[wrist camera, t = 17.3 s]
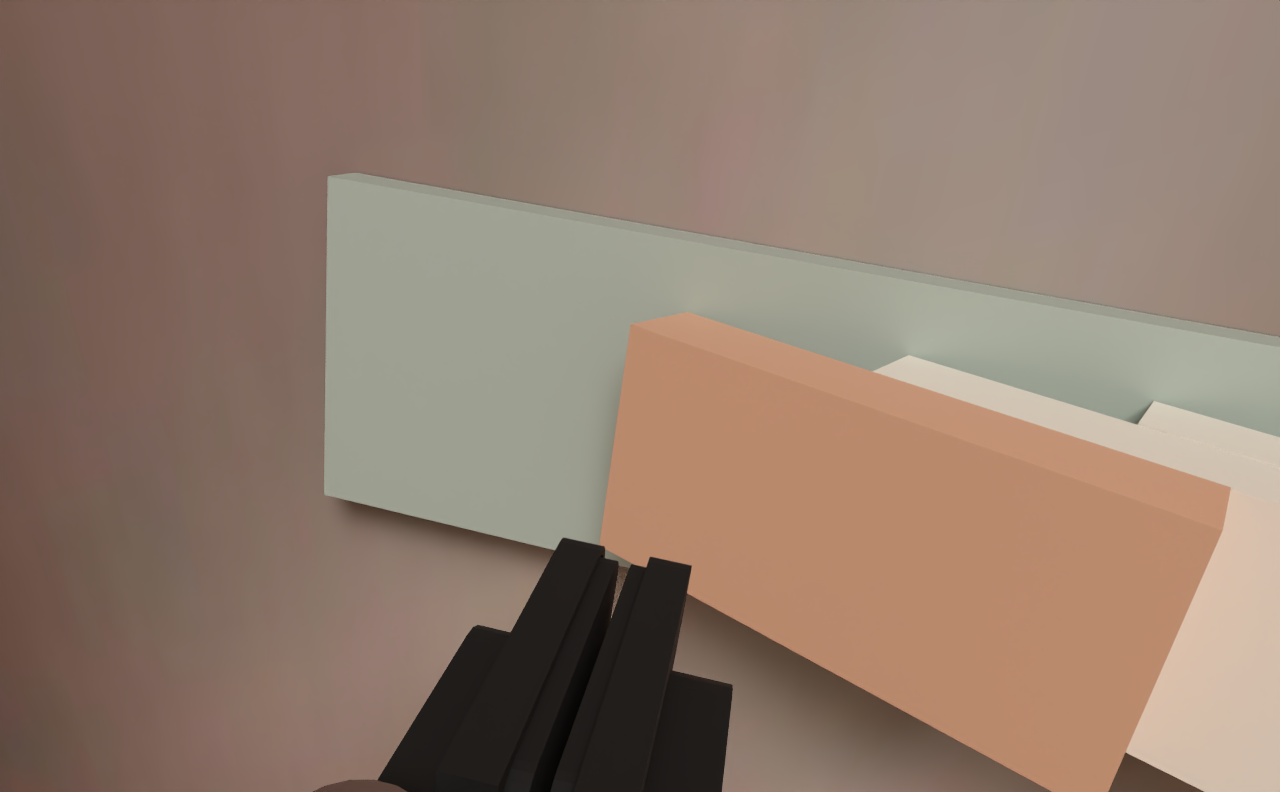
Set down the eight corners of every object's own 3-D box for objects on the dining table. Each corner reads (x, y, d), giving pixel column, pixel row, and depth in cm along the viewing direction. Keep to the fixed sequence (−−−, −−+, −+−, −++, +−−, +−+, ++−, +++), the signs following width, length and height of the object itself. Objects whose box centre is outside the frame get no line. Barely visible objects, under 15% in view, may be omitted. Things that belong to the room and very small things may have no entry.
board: (349, 475, 22) (323, 494, 21) (355, 172, 20) (327, 176, 19) (1465, 739, 18) (1506, 779, 17) (1670, 407, 16) (1735, 429, 15)
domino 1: (599, 545, 18) (1097, 816, 13) (630, 323, 16) (1222, 530, 11) (653, 516, 20) (1118, 747, 14) (687, 311, 18) (1231, 487, 13)
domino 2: (814, 597, 17) (1436, 906, 12) (871, 372, 16) (1627, 617, 10) (853, 563, 19) (1419, 824, 14) (909, 355, 17) (1582, 560, 12)
